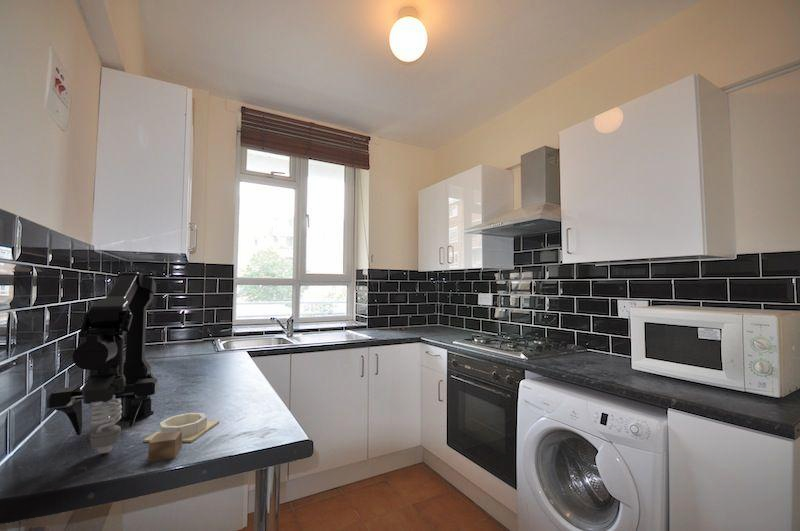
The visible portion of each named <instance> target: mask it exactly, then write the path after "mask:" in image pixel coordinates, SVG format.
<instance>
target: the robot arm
mask: <svg viewBox="0 0 800 531" xmlns="http://www.w3.org/2000/svg"><path fill="white" fill-rule="evenodd" d="M156 293H157V283H156V281H155V279H154V278H153V277H149V276H147V275H144V274H143V273H142V272H138V271H121V272H119V273H118V274H117V277H116V281H115V283H114V284H113V286H112V287H111V289H110V291H109V292H108V294H107V295H106V296H105V298H103V299H100V300H96V301H95V302H94V303H93V304H92V305H91V306H90V307H89V309H88V310H87V311H86V312H85V314H84V317H83V321H82V324H81V327H80V330H79V334H78V338H79V339H81V338H85V342H82V343H81V344H79V345H78V346H77V347H76V348H75V350H74V351H73V353H72V361H73V363H74V365H75V366H76V367H78V368H80V369H81V370H85V371H86V370H87V371H89V376H88V378H87V379H86V382H85V383H84V385H83V387H82V389H81V388H80V386H76V385H75V386H68V387H60V388H58V389H56V390H55V391H53V392H51V393H50V394H49V395H48V396H47V399H46V409H52V408H54V409H55V411H56V412H59V411H60V412H62V413H64V414H65V415H66V416H67V417H68V419H69V421H70V423H71V425H72V427H73V429H74V431H75V434H76V436H81V435H82V430H83V408H82V406H83V404H82V402H83V403H84V405H89V404H92V403H100V402H102V403H104V402H106V401H109V400H111V399H120V400H121V406H122V409H121V410H122V414H121V419H120V420H119V421H118V422H120V421H126V422H127V421H128V422H129V428H132V427H133V425H134V423H135V422H137V421H139V420H142V419H143V418H147V417H148V416H150V415H152V414H154V413H155V410H152V398H151V396H152V395H155V394H156V393H157V391H158V389H159V380H158V379H157V378H156V377H154V373H152V367H151V366H152V365H150V364H149V362H148V360H146V359H145V358H146V355H145V354H146V335H147V334H146V332H147V308H148V307H149V306H150V304H151V303H152V302H153V300H154V295H155V294H156ZM125 335H126V336H125ZM124 336H125V337H124ZM124 346H125V347H124ZM124 351H125V352H124ZM124 354H125V355H124ZM124 356H125V358H124ZM124 359H125V360H124ZM114 397H115V398H114ZM116 419H117V418H115V420H116Z"/></svg>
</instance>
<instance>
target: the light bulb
mask: <svg viewBox="0 0 800 531" xmlns="http://www.w3.org/2000/svg"><path fill="white" fill-rule="evenodd" d="M90 408H91V409H92V410H91V411H90V412H89V413H90V417H89V420H91V421H90V422H89V424H90V425H93V426H95V425H99V426H98V427H97V428H95V429H93V430H92V431H91V432H90V436H89V438H90V440H89V441H90V442H89V443H90V446H91V447H92V448H97V452H98V453H100V454H103V455H105V454H108V453H109V452H110V451H112V449H113V446H114V445H113V444H116V443H117V442H119V441H120V439H121V434H122V433H121V432H122V429H121V428H122V427H121V426H120V425H118V424H117V423H118V422H120V421H119V420H120V419H121V414H122V410H121V409H122V406H121V399H120V398H118V399H116V398H112V399H111V400H109V401H106V402H101V403H100V402H98V403H95V404H93V405H91V407H90ZM116 418H117V419H116ZM100 424H102V425H100Z"/></svg>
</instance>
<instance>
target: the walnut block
mask: <svg viewBox="0 0 800 531" xmlns="http://www.w3.org/2000/svg"><path fill="white" fill-rule="evenodd" d="M182 443H183V442H182V431H175V432H167V433H159V434H156V435H155V436H154V437H153V439H152V440H151V441H150V442H148V453H147V454H148V458H147V459H148V463H149V462H155V461H156V462H157V461H161V460H162V461H163V460H169V459H176V457H177V455H178V454H179V452H180V450H182V447H183V446H182Z"/></svg>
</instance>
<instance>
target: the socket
mask: <svg viewBox="0 0 800 531" xmlns="http://www.w3.org/2000/svg"><path fill="white" fill-rule="evenodd" d="M219 423H220V420H208V417H207V415H206V414H204V412H186V413H182V414H177V415H172V416H169V417H168V418H166V419H164V420H162V421H160V422H159V430H158V431H156V432H154V433H153V434H150V435H149V436H148V437H145V438H143V439H142V442H143V443H149V442H150V441H151V440H152V439H153V437H154V436H155V435H156V434H159V433H167V432H175V431H182V443H193V442H194V441H195V440H197V439H198V438H200V437H201V436H203V435H204V434H205V433H207V432H209V431H210V430H212V429H213V428H214V427H216V426H217V425H219Z"/></svg>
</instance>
